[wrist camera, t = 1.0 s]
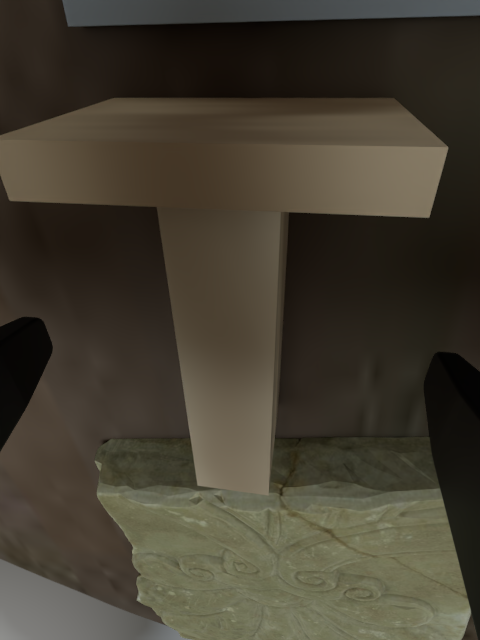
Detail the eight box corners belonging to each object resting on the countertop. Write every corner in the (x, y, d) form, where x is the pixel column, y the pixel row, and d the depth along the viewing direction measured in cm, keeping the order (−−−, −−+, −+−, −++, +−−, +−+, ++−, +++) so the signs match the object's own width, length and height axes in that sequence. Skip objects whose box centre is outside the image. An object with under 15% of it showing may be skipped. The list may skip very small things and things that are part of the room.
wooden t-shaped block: (393, 97, 9) (448, 147, 5) (335, 409, 16) (341, 537, 12) (114, 97, 10) (-14, 139, 6) (167, 392, 17) (121, 503, 13)
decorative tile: (488, 426, 16) (526, 514, 13) (439, 621, 27) (453, 691, 24) (77, 424, 20) (37, 489, 17) (182, 592, 31) (168, 649, 28)
